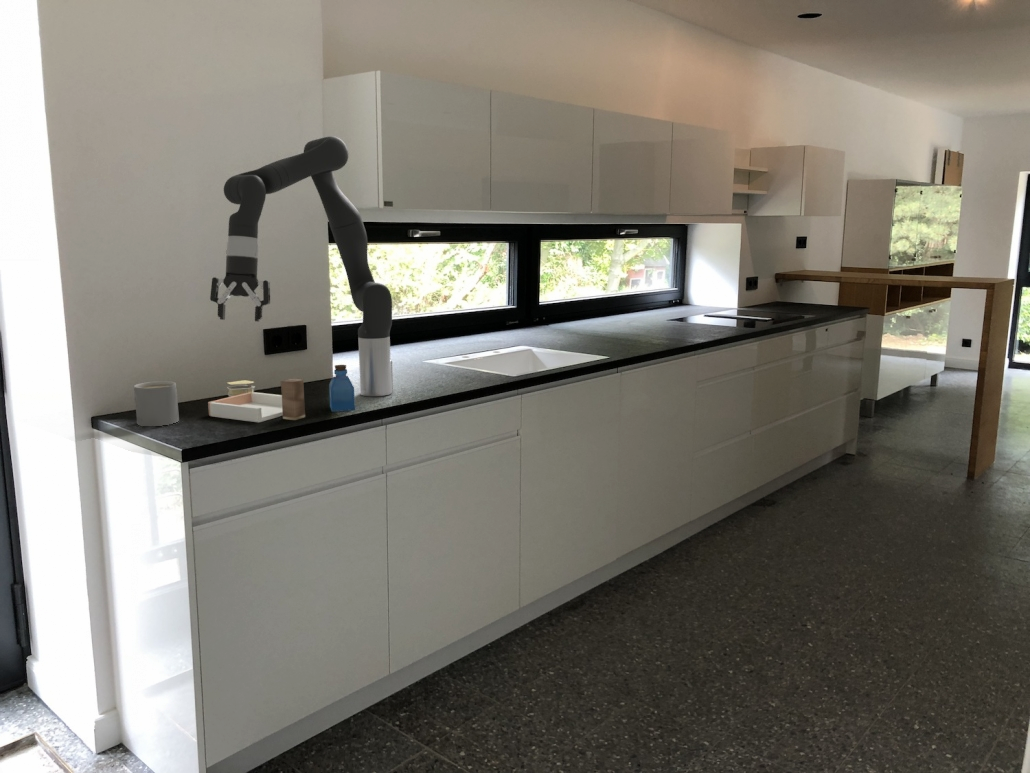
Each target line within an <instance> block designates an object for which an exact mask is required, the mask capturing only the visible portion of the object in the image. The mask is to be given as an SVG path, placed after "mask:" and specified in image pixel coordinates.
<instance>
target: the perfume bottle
mask: <svg viewBox="0 0 1030 773" xmlns="http://www.w3.org/2000/svg"><path fill="white" fill-rule="evenodd" d="M347 374H348V369H347V365H346V364H336V365H334V375H335V376H332V378H331V379H330V382H329V385H328V389H329V391H328V392H329V407H330V410H331V412H333V413H334V412H347V411H348V412H349V411H356V403H355V401H356V400H355V387H354V385H353V383H352V381H351V379H350V378H349V376H348V375H347Z"/></svg>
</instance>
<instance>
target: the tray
mask: <svg viewBox="0 0 1030 773" xmlns="http://www.w3.org/2000/svg"><path fill="white" fill-rule="evenodd" d="M207 404H208V405H207V407H208V408H207V409H208V415H209V416H210V417H215V418H221V419H227V420H228V419H231V420H237V421H245V422H251V423H252V422H254V423H262V422H265V421H270V420H272V419H275V418H276V419H277V418H279V417H283V410H282V394H274V393H264V392H255V391H254V393H251V392H249V393H245V394H240V395H236V396H232V397H229V396H228V397H224V398H220V399H217V400H211V401H208V402H207Z"/></svg>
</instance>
